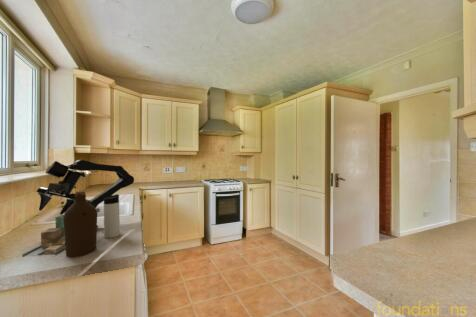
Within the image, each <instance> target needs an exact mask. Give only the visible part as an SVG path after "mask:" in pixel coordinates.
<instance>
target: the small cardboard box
mask: <svg viewBox="0 0 476 317" xmlns="http://www.w3.org/2000/svg"><path fill="white" fill-rule="evenodd" d="M61 248H63V245H56V246H51V247H49V248H47V249H45V254H47V253H54V252H56V251H58V250H59V249H61Z"/></svg>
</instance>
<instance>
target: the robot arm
mask: <svg viewBox="0 0 476 317" xmlns="http://www.w3.org/2000/svg"><path fill="white" fill-rule="evenodd" d="M79 171H80V172H79ZM88 171H103V172H112V173H113V172H115V174H116V175H117V177H118V179H117V180H116V181H115V183H114V184H112V185H110V186H109V187H108V188H106V189H105V190H103V191H102V192H100V193H99V194H97V195H96V196H94V197H93V198H91V199H87V198H86V201H87V202H89V203H90V204H91V205H93V206H94V207H95V208H96V209H97V207H98V206H99V205H100V204H101V203H104V198H105V197H107V196H112V195H115V193H117V192H118V191H119V190H121V189H124V188H127V187H129V186H131V185H132V184H134V182H135V178H134V176H133V175H131V174H130V173H129V172H128V171H127V170H126V169H125V168H124V167H123V166H121V165H111V164H103V163H102V164H101V163H96V162H92V161H88V160H84V159H77V160H75V161H74V162H73V163H71V164H68V165H65V164H63V163H60V162H59V161H58V160H57V161H56V160H55V161H53V163H52V164H51V165H49V166H47V169H46V170H45V173H44V174H46V175H50V176H52V177H55V178H58V179H59V178H63V179H62V180H59V181H58V182H49V184H48V187H43V186H40V187H39V188H37V190H36V191H35V192H36V193H37V195H39V196H40V203H39V209H38V210H39V211H41V212H42V211H43V209H44V208H45V207H47V204H49V202H50V201H51V200H52V197H53V196H54V197H60V198H64V199H66V202H65V204H64V206H63V208H62V209H61V210H60V212H59V216H61V215H64V214H65V212H66V210H67V209H68V208H69V207H70V206H71V205H72V204H73V203H74V202H75V195H76V194H75V193H73V192H72V191H73V189H76V188H77V187H76V185H77V183H78V182H79V180H80V178H81V179H84V178H86V177H87V176H86V174H85V172H88ZM97 227H98V224H97Z"/></svg>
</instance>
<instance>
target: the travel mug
mask: <svg viewBox="0 0 476 317" xmlns="http://www.w3.org/2000/svg"><path fill="white" fill-rule="evenodd" d="M120 224H121V223H120V194H113V195H111V196H107V197H105V198H104V201H103V227H104V229H103V231H104V234H103V235H104V238H105V239H111V238H116V237H118V236H120V234H121V232H120V230H121V227H120Z"/></svg>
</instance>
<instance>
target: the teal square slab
mask: <svg viewBox="0 0 476 317" xmlns="http://www.w3.org/2000/svg"><path fill="white" fill-rule="evenodd" d="M63 217H64V214H62V215H59V216H56V217H55V228H62V239H60V240H58V241H57V242H55V243H47V244H40V245H41V248H42V247H50V246H52V245H54V244H56V243H58V242H60V241H62V240H64V239H65V232H64V222H63Z"/></svg>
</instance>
